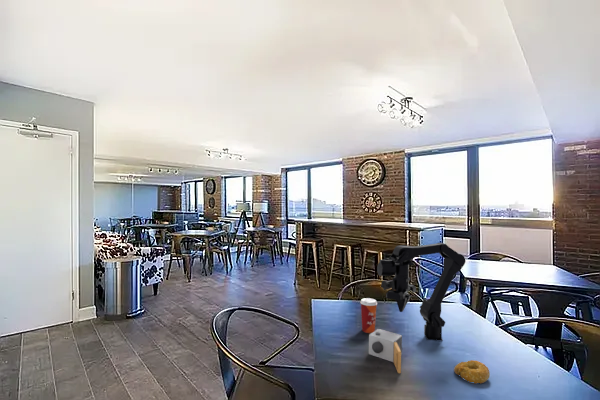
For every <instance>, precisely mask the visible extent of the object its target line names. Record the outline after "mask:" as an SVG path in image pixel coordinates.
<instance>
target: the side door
mask: <svg viewBox="0 0 600 400" xmlns="http://www.w3.org/2000/svg"><path fill="white" fill-rule="evenodd" d="M393 365H394V366H395V369H396V373H397V374H401V373H402V355H401V350H400V348H399V346H398V344H397V342H396V341H394V362H393Z"/></svg>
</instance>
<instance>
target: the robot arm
mask: <svg viewBox="0 0 600 400" xmlns="http://www.w3.org/2000/svg"><path fill="white" fill-rule="evenodd" d="M434 254H439V255H440V256H441V257H442V259H443V263H442V264H443V265H442V266H443V269H442V272H441V274H440V276H439V278H438V281H437V283H436V284H435V287H434V288H433V290H432V293H431V295H430V298H428V299H427V300H426V299H423V301H422V303H421V305H420V306H419V308H420V309H419V313H420V316H421V317H422V319H423V321H424V322H425V324H424V326H423V329H424V331H423V334H424V336H425V339H426V340H430V341H440V342H443V336H442V335H443V332H442V331H443V327H445V325H446V321H445V319H443V318H442V317H441V314H442V303H443V300H444V298H445V297H446V294H447V292H448V289H449V288H450V285H451V283H452V281H453V279H454V277H455V275H456V274H457V273H458V272H460V271H461V270H462V268H463V267H464V266H465V264H466V258H465V256H464V255H463V254H461V253H458V252H457V251H456V250H454V249H453V248H451V247H450V246H449V245H447V244H446V243H443V242H437V243H430V244H423V245H415V246H411V245H396V246H395V248H394V249H393V251H392V254H391V255H390V256H389V257H388V259H379V261H378V264H377V266H376V270H377V274H378V276H379V277H390V276H392V279H391V280H387V279H386V280H382V281H381V285H380V287H381V288H382V289H383V291H387V290H388V291H387V292H386V293H385V295H386V296H385V297H386V299H388V300H389V299H390V300H394V301H395V302H396V305H397V309H398V311H399V312H400V313H403V312H404V311H405V308H406V307H407V304H408V302H409V300H410V298H411V297H412V294H414V293H417V287H416V286H415V285H414V284H410V281H411V277H410V266H414V265H415V264H414V263H413V262H412V260H413V259H414V258H417V257H420V256H425V255H426V256H427V255H434ZM393 276H394V277H393ZM389 289H391V290H389ZM409 292H411V293H412V294H410V293H409Z"/></svg>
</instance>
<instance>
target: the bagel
mask: <svg viewBox="0 0 600 400" xmlns="http://www.w3.org/2000/svg"><path fill="white" fill-rule="evenodd" d="M453 371H454V373H455V374H456V375H457V376H459V375H460V376H459V377H461V378H462V379H463V378H464V379H465V380H464V379H463V380H464V381H466V380H467V381H466V382H468V381H469V382H468V383H470V382H474V383H473V384H477V383H480V384H484V383H486V382H487V381H488V380H489V378H490V375H491V374H490V373H491V372H490V369H489V368H488V366H486V364H485V363H482V362H481V361H478V360H475V359H473V360H467V361H461V362H458V363H457V364H456V365H455V366H454V368H453Z"/></svg>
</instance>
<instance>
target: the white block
mask: <svg viewBox="0 0 600 400" xmlns="http://www.w3.org/2000/svg"><path fill="white" fill-rule="evenodd" d="M394 341H396V342H397V344H398V346H399V348H400V350H401V356H402V355H403V335H401V334H398V333H395V332H392V331H388V330H384V329H380V328H376V329H375V331H374V332H373V333H369V334H368V355H370V356H374V357H377V358H378V359H383V360H386V361H387V362H388V361H389V362H392V363H394Z"/></svg>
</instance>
